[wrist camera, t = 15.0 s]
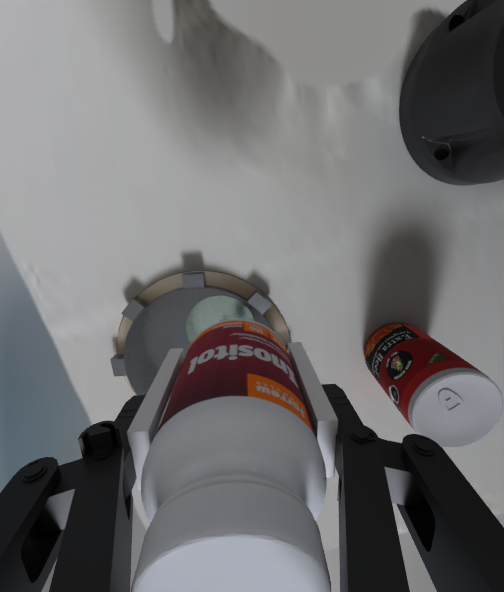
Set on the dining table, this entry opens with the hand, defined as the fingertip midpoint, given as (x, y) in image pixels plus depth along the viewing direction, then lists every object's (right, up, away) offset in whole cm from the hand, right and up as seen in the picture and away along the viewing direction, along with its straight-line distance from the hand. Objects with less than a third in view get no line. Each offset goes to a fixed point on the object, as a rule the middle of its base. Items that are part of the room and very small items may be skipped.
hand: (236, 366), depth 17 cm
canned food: (+18, -2, +18) cm, 25 cm away
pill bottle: (0, 0, 0) cm, 1 cm away
